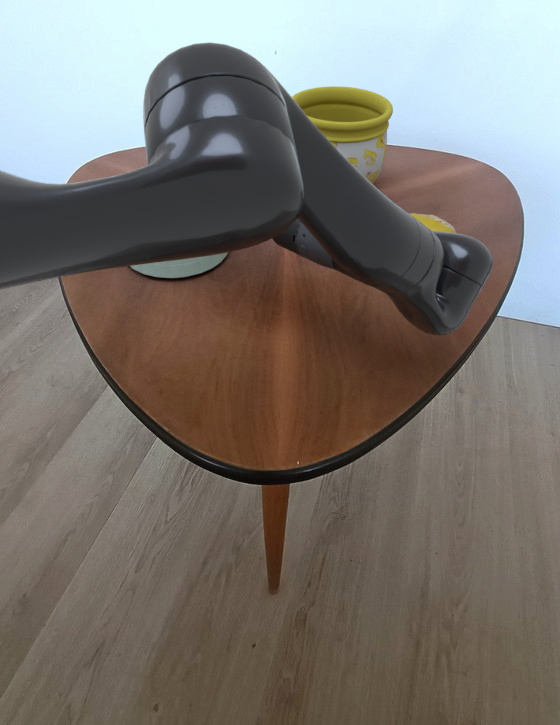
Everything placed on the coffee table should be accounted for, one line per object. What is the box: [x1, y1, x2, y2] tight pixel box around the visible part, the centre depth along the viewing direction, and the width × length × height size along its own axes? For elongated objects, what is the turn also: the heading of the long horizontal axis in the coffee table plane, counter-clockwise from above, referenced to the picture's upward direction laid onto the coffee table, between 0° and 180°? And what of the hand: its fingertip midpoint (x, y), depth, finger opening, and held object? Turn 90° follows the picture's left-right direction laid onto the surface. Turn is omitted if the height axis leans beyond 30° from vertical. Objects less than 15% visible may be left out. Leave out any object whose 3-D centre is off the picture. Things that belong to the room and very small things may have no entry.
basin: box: [129, 252, 229, 279], centre depth 89 cm, size 17×17×6 cm
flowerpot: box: [291, 85, 394, 185], centre depth 100 cm, size 18×18×16 cm
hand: (220, 185), depth 72 cm, fingers open, 8 cm apart
